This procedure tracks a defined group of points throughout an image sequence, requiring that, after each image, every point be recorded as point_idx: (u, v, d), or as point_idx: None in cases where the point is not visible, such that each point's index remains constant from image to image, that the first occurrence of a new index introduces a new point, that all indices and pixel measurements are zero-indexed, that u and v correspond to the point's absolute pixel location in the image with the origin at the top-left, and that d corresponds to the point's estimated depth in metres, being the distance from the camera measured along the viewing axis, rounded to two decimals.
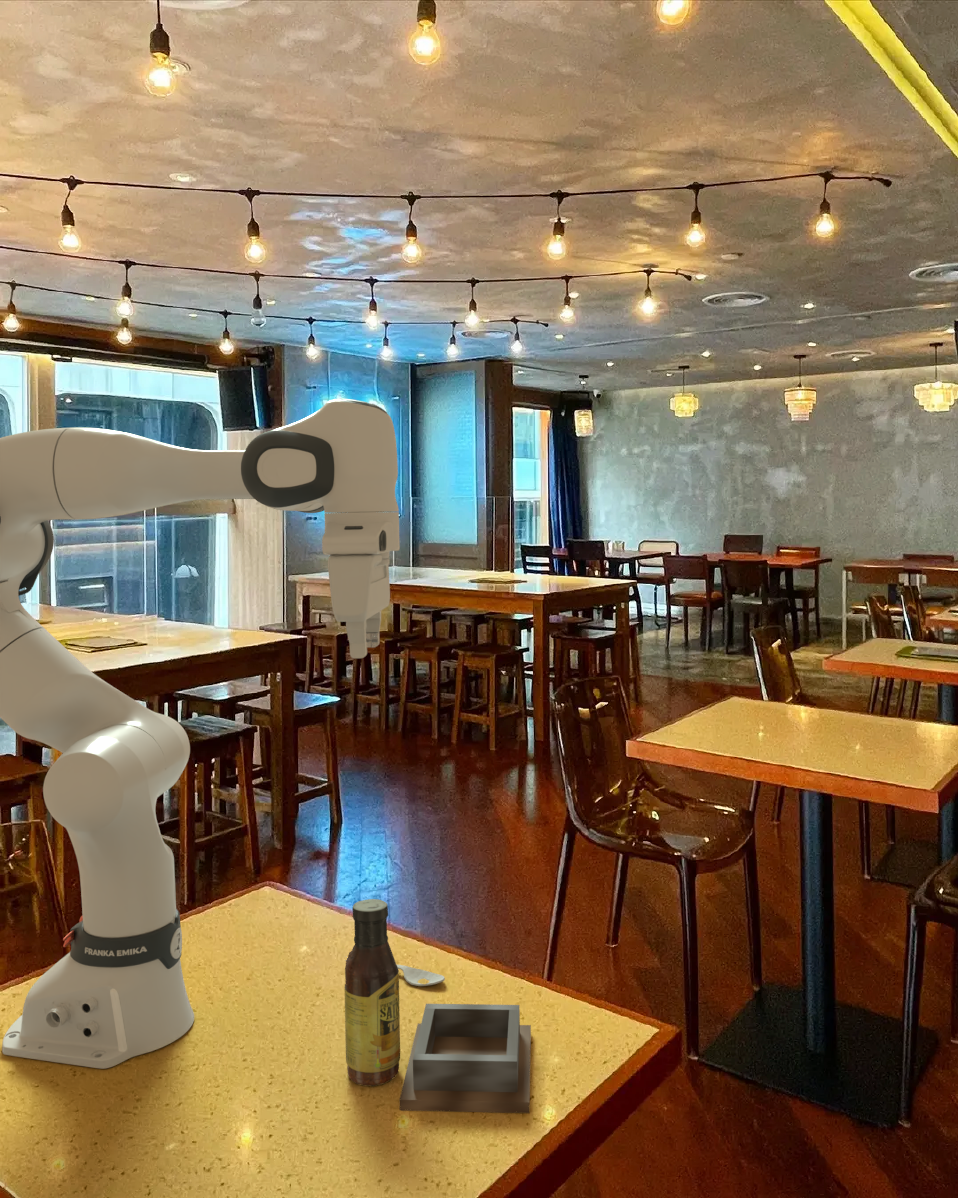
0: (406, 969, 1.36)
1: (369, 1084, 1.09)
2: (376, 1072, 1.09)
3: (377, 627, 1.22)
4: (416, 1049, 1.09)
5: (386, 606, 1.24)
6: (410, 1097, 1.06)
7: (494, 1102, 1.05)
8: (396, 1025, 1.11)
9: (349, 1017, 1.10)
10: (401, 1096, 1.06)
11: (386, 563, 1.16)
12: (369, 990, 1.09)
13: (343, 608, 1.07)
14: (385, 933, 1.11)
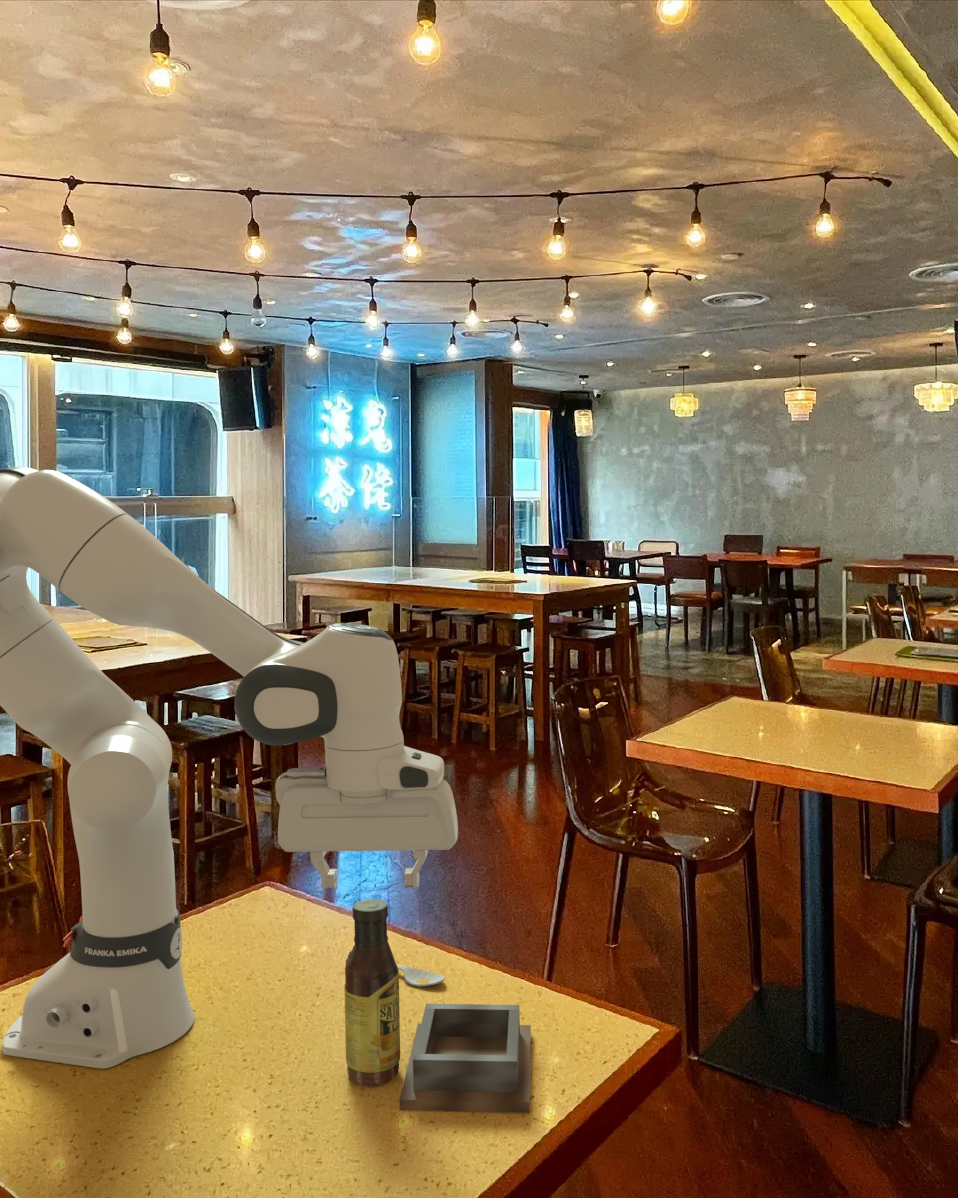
0: (406, 969, 1.36)
1: (369, 1084, 1.09)
2: (376, 1072, 1.09)
3: (326, 864, 1.12)
4: (416, 1049, 1.09)
5: None
6: (410, 1097, 1.06)
7: (494, 1102, 1.05)
8: (396, 1025, 1.11)
9: (349, 1017, 1.10)
10: (401, 1096, 1.06)
11: None
12: (369, 990, 1.09)
13: (456, 833, 1.09)
14: (385, 933, 1.11)
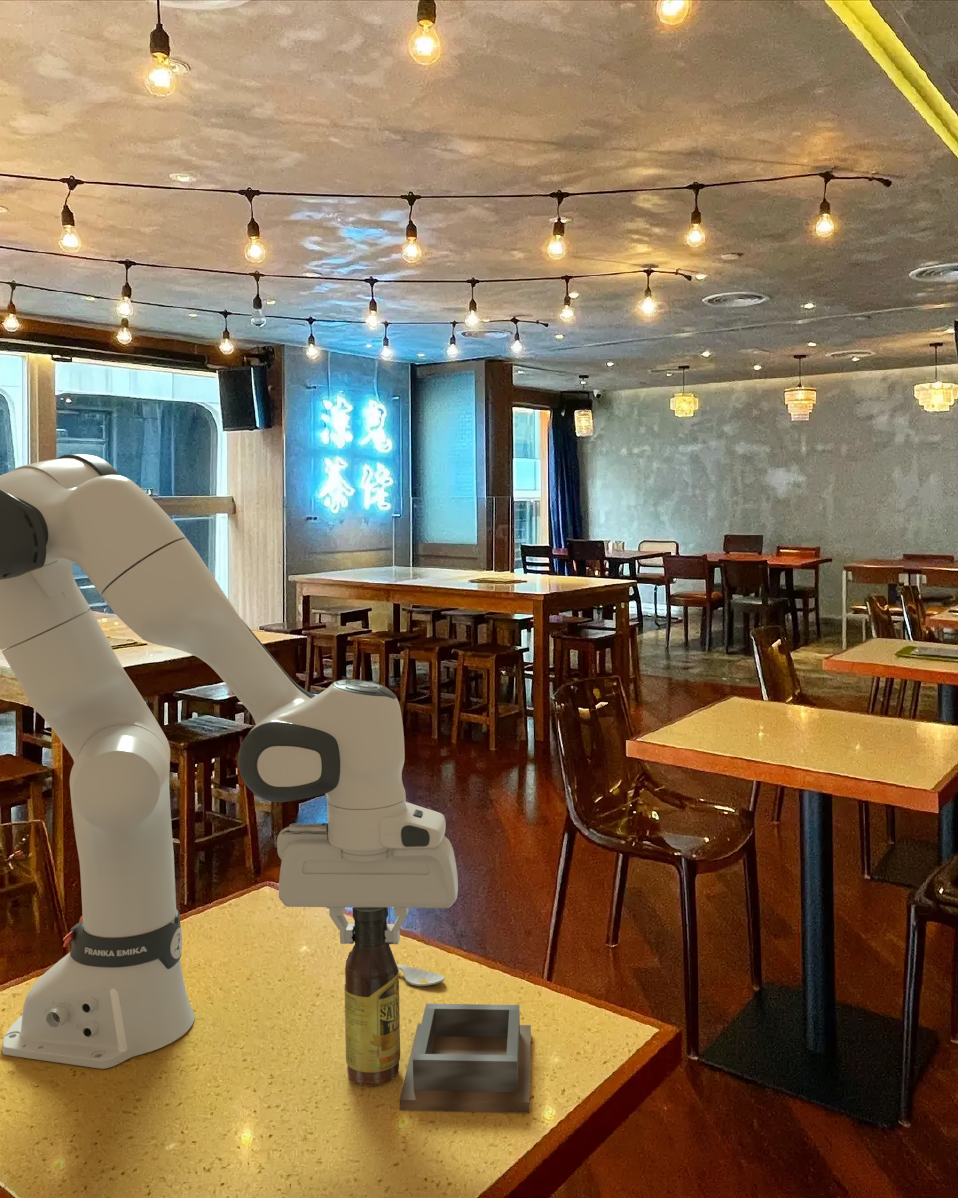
0: (406, 969, 1.36)
1: (369, 1084, 1.09)
2: (376, 1072, 1.09)
3: (345, 919, 1.12)
4: (416, 1049, 1.09)
5: None
6: (410, 1097, 1.06)
7: (494, 1102, 1.05)
8: (396, 1025, 1.11)
9: (349, 1017, 1.10)
10: (401, 1096, 1.06)
11: None
12: (369, 989, 1.09)
13: (456, 892, 1.09)
14: None
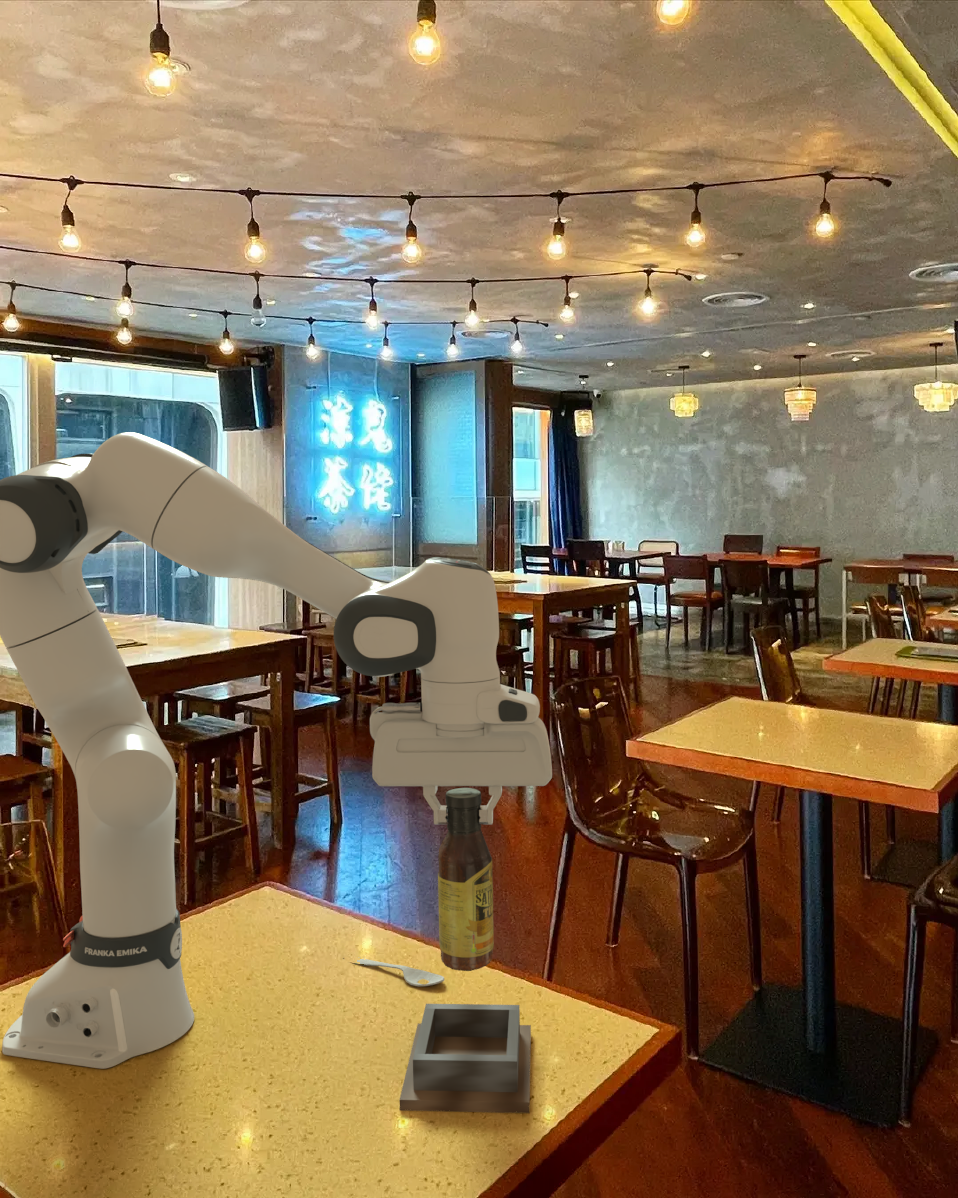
0: (406, 969, 1.36)
1: (465, 969, 1.09)
2: (472, 957, 1.09)
3: (437, 800, 1.11)
4: (416, 1049, 1.09)
5: None
6: (410, 1097, 1.06)
7: (494, 1102, 1.05)
8: (490, 912, 1.10)
9: (444, 904, 1.09)
10: (401, 1096, 1.06)
11: None
12: (465, 875, 1.08)
13: None
14: None
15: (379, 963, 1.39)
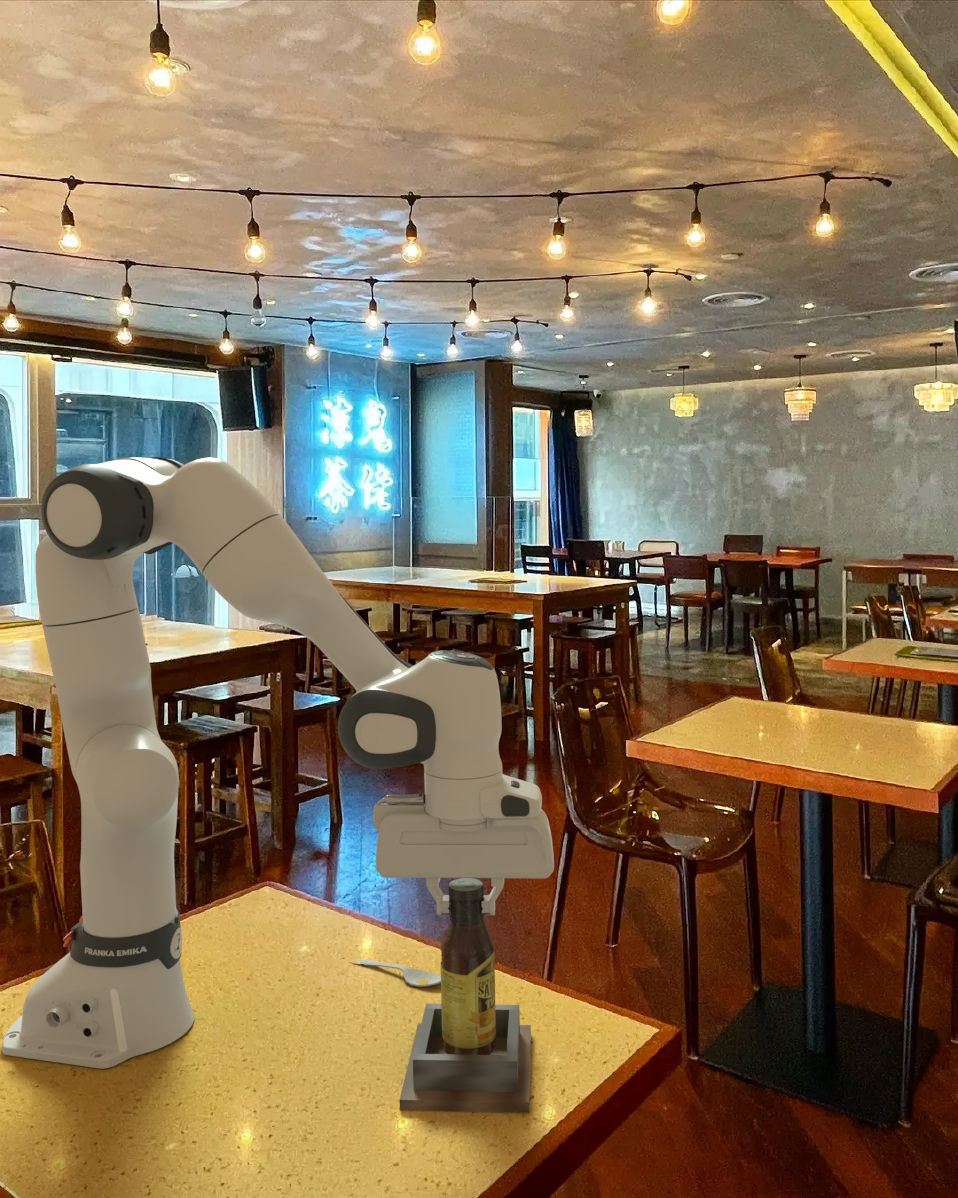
0: (406, 969, 1.36)
1: None
2: (475, 1049, 1.10)
3: (440, 890, 1.12)
4: (416, 1049, 1.09)
5: None
6: (410, 1097, 1.06)
7: (494, 1102, 1.05)
8: (493, 1002, 1.11)
9: (447, 995, 1.10)
10: (401, 1096, 1.06)
11: None
12: (468, 968, 1.09)
13: None
14: (481, 912, 1.11)
15: (379, 963, 1.39)
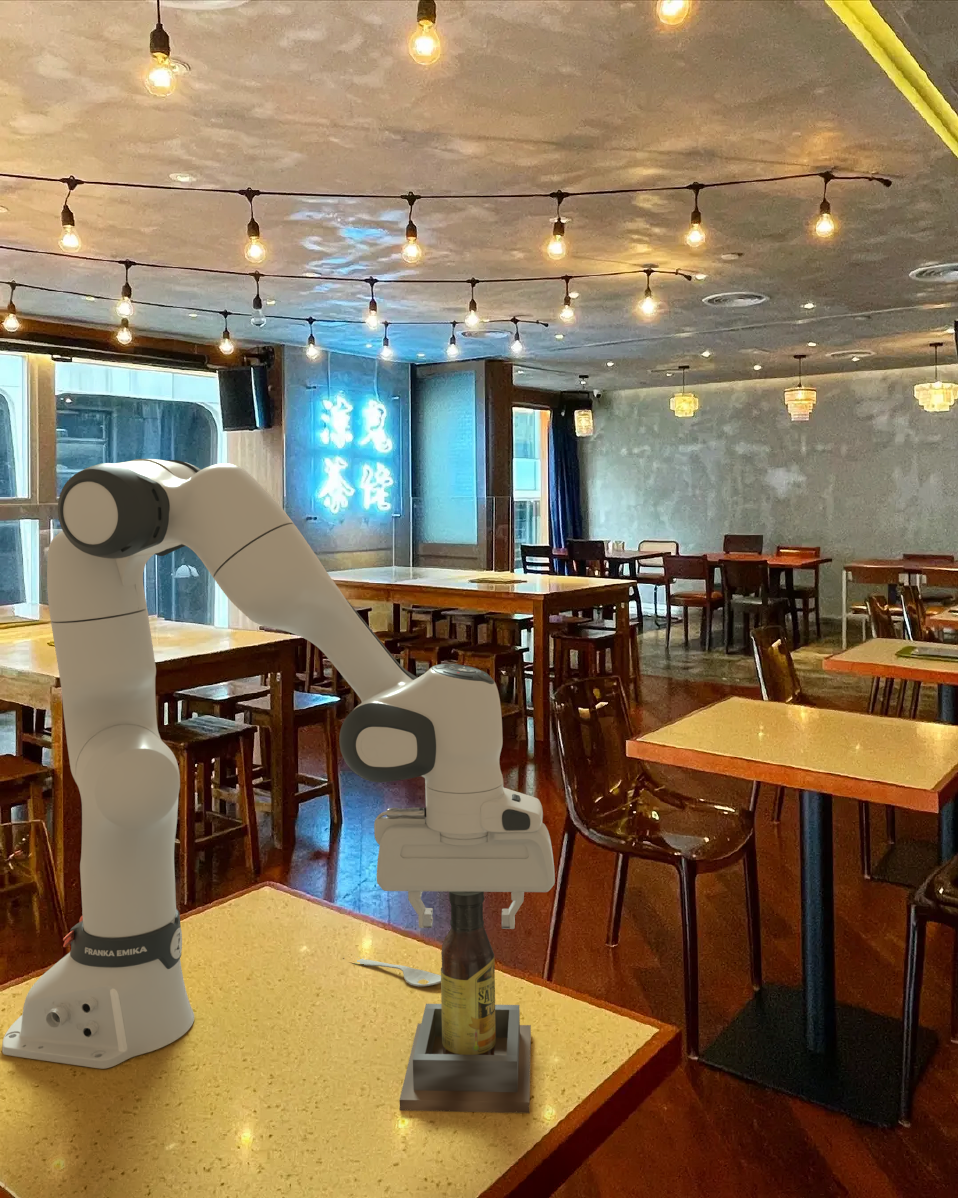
0: (406, 969, 1.36)
1: None
2: None
3: (422, 903, 1.12)
4: (416, 1049, 1.09)
5: None
6: (410, 1097, 1.06)
7: (494, 1102, 1.05)
8: (493, 1009, 1.12)
9: (447, 1001, 1.11)
10: (401, 1096, 1.06)
11: None
12: (468, 973, 1.10)
13: (554, 876, 1.10)
14: (481, 917, 1.12)
15: (379, 963, 1.39)
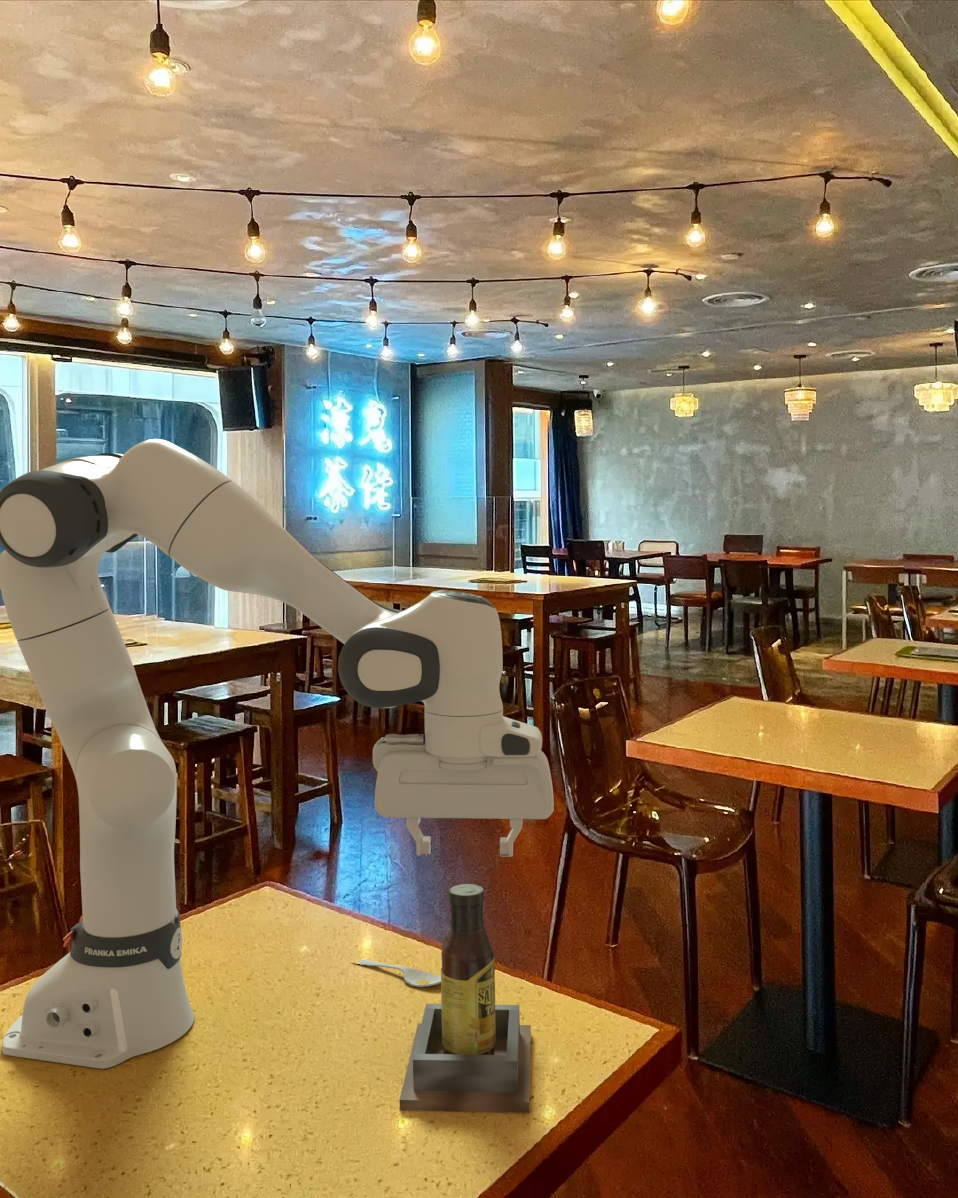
0: (406, 970, 1.36)
1: None
2: None
3: (420, 831, 1.12)
4: (416, 1049, 1.09)
5: None
6: (410, 1097, 1.06)
7: (494, 1102, 1.05)
8: (493, 1009, 1.12)
9: (447, 1001, 1.11)
10: (401, 1096, 1.06)
11: None
12: (468, 973, 1.10)
13: (553, 803, 1.09)
14: (482, 917, 1.12)
15: (379, 963, 1.39)
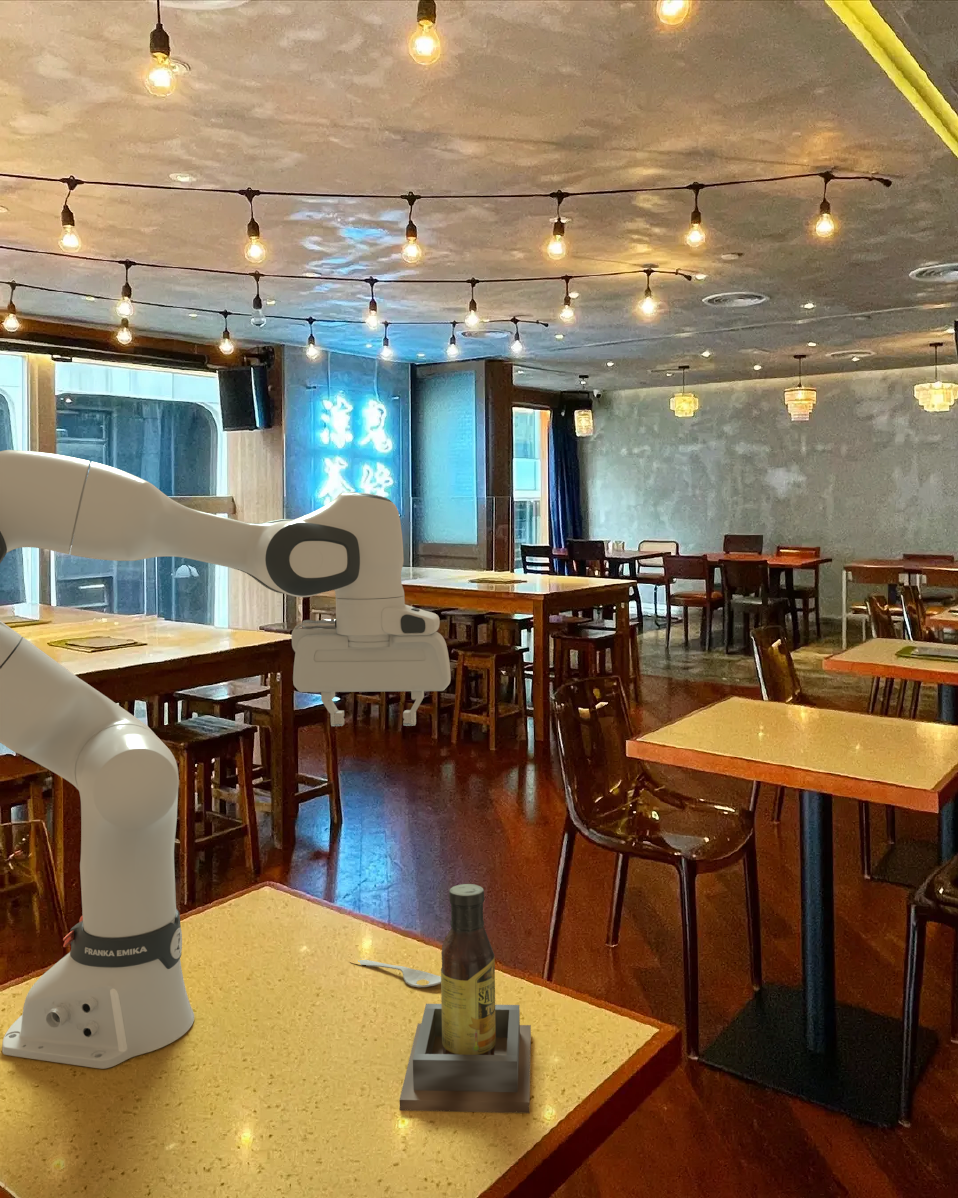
0: (405, 970, 1.36)
1: None
2: None
3: (335, 706, 1.27)
4: (416, 1049, 1.09)
5: None
6: (410, 1097, 1.06)
7: (494, 1102, 1.05)
8: (493, 1009, 1.12)
9: (447, 1001, 1.11)
10: (401, 1096, 1.06)
11: None
12: (468, 973, 1.10)
13: (449, 677, 1.25)
14: (482, 917, 1.12)
15: (379, 964, 1.39)
